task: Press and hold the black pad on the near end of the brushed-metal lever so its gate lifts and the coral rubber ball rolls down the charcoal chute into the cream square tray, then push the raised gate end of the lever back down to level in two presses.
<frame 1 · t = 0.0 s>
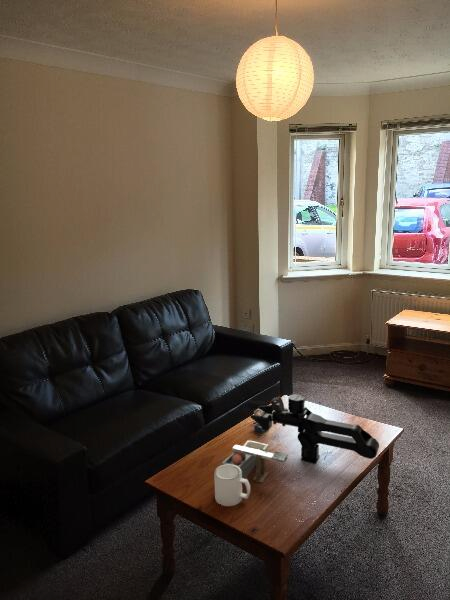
hand: (254, 411, 209), 17 cm above the table, tool horizontal, fingers open, 9 cm apart
lever: (259, 457, 187), point 9 cm above the table, hinge at 0.0°, touching ball
cream square tray: (253, 454, 205), on the table
chute: (240, 471, 193), on the table
mug: (231, 498, 177), on the table
ball: (237, 458, 189), point 7 cm above the table, tilted 9°, touching chute, lever
watch: (261, 430, 226), on the table
lever stand: (260, 477, 189), on the table
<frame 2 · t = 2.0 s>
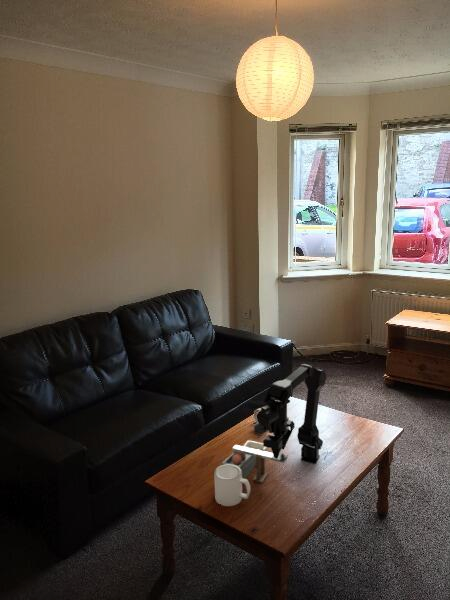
hand: (279, 453, 183), 13 cm above the table, tool pointing down, fingers open, 7 cm apart
nothing on the table moved.
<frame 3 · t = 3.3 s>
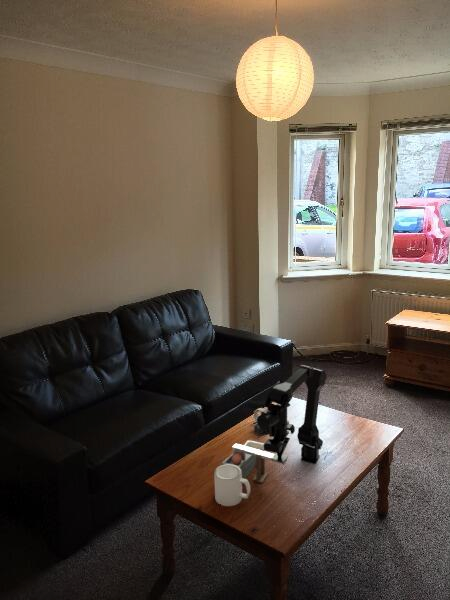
hand: (279, 457, 183), 11 cm above the table, tool pointing down, fingers closed, pressing on lever
lever: (258, 457, 187), point 9 cm above the table, hinge at 3.2°, touching gripper
ball: (236, 459, 189), point 7 cm above the table, tilted 8°, touching chute
everything else where it was.
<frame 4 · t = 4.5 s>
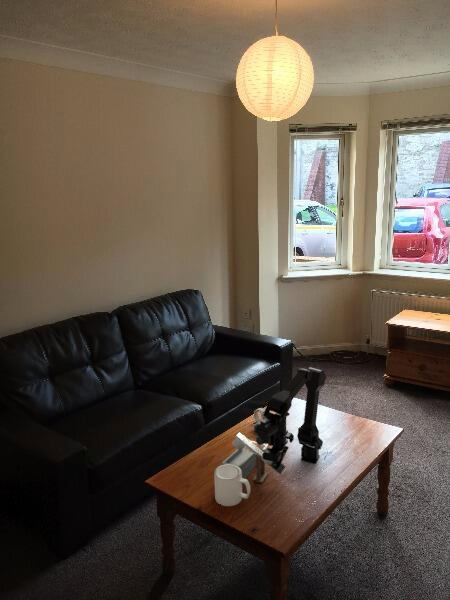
hand: (278, 465, 184), 7 cm above the table, tool pointing down, fingers closed, pressing on lever
lever: (256, 456, 188), point 9 cm above the table, hinge at 31.3°, touching gripper
ball: (254, 447, 207), point 3 cm above the table, tilted 142°, touching cream square tray
everything else where it was.
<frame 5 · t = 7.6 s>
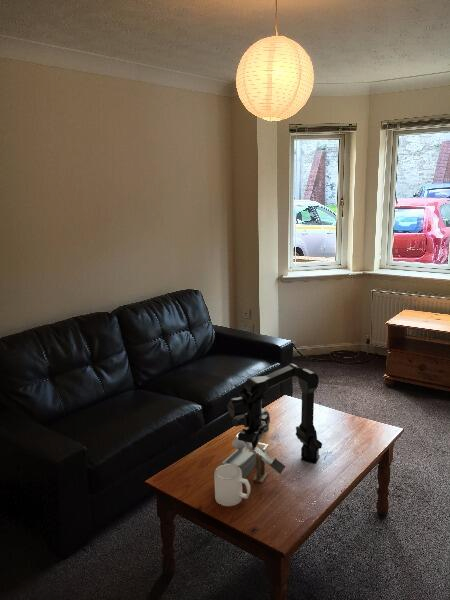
hand: (254, 447, 187), 13 cm above the table, tool pointing down, fingers closed, pressing on lever
lever: (257, 456, 188), point 9 cm above the table, hinge at 30.9°, touching gripper
ball: (253, 447, 206), point 3 cm above the table, tilted 157°, touching cream square tray
everything else where it was.
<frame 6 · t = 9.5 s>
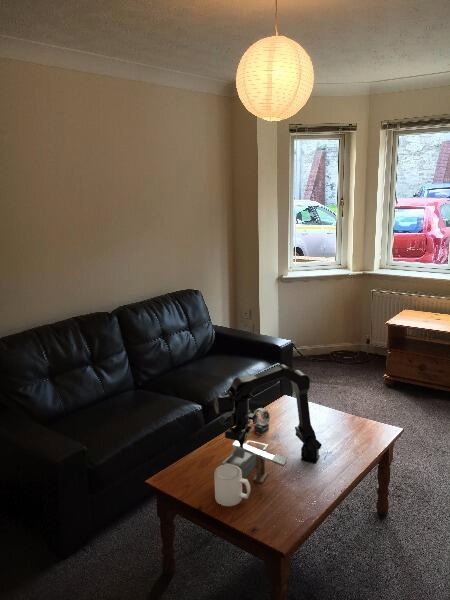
hand: (241, 445, 190), 12 cm above the table, tool pointing down, fingers closed, pressing on lever
lever: (258, 457, 187), point 9 cm above the table, hinge at 9.1°, touching gripper
ball: (252, 447, 206), point 3 cm above the table, tilted 163°, touching cream square tray
everything else where it was.
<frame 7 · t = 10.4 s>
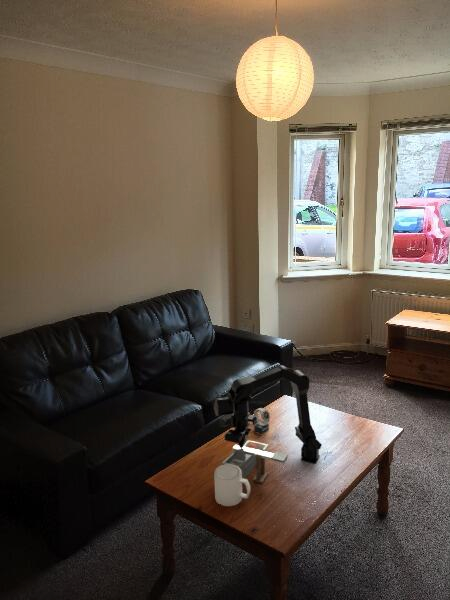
hand: (241, 447, 190), 11 cm above the table, tool pointing down, fingers closed
lever: (259, 457, 187), point 9 cm above the table, hinge at 0.3°
everything else where it was.
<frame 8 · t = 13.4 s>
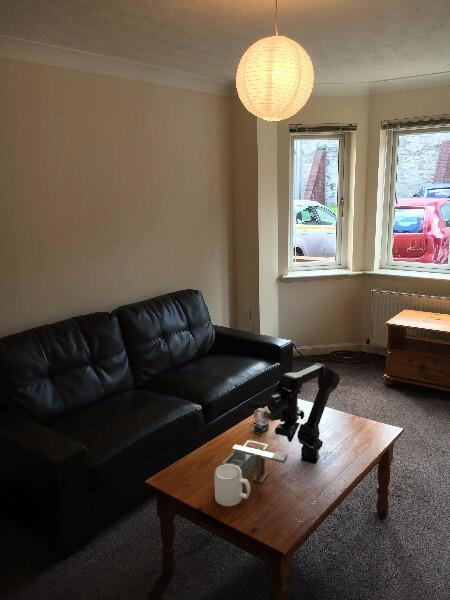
hand: (290, 441, 190), 13 cm above the table, tool pointing down, fingers closed
ball: (250, 448, 206), point 3 cm above the table, tilted 157°, touching cream square tray
everything else where it was.
at the end: ball inside the target area on the cream square tray (1.6 cm from its centre), point 2.6 cm above the cream square tray's base; lever at +0° (first picture: +0°) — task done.
